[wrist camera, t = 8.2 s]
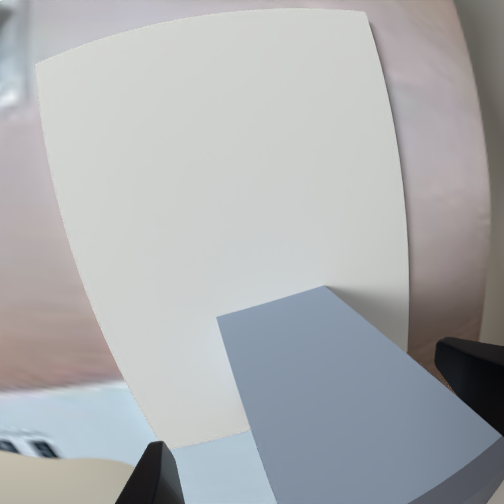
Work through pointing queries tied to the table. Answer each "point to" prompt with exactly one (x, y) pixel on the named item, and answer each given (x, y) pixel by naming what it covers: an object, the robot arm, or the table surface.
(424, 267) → the table surface
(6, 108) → the table surface
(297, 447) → the block
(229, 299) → the mat
